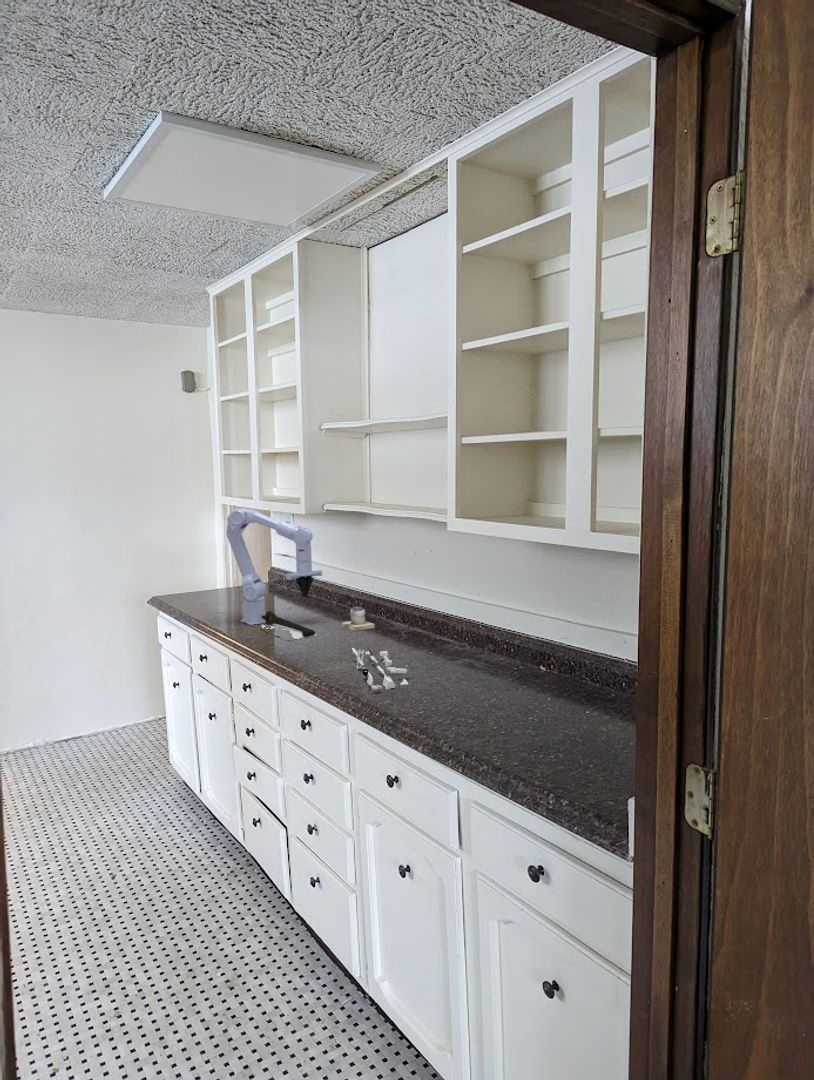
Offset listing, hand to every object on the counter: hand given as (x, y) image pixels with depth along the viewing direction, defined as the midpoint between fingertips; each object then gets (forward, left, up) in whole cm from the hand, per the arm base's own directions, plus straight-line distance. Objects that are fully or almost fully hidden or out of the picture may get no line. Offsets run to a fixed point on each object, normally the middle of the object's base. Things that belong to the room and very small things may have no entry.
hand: (304, 596), depth 267 cm
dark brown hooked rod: (+5, -12, -10) cm, 16 cm away
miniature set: (+71, -14, -11) cm, 73 cm away
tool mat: (+6, -12, -10) cm, 17 cm away
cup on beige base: (+18, +12, -10) cm, 24 cm away
